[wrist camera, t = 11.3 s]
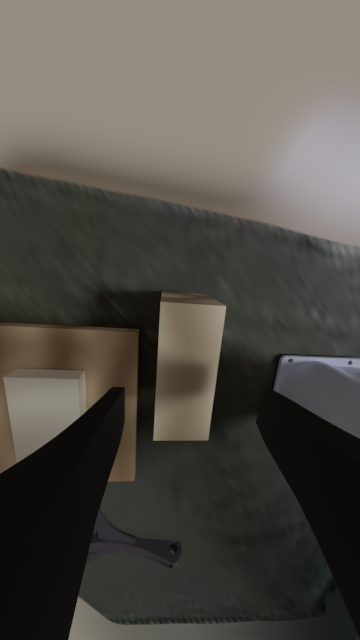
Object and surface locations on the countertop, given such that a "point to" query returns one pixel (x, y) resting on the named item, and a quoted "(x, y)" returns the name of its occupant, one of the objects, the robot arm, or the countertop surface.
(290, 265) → the countertop surface
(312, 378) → the robot arm
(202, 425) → the tan mottled block
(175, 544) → the bracket
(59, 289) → the countertop surface
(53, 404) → the tile
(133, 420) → the cork mat
